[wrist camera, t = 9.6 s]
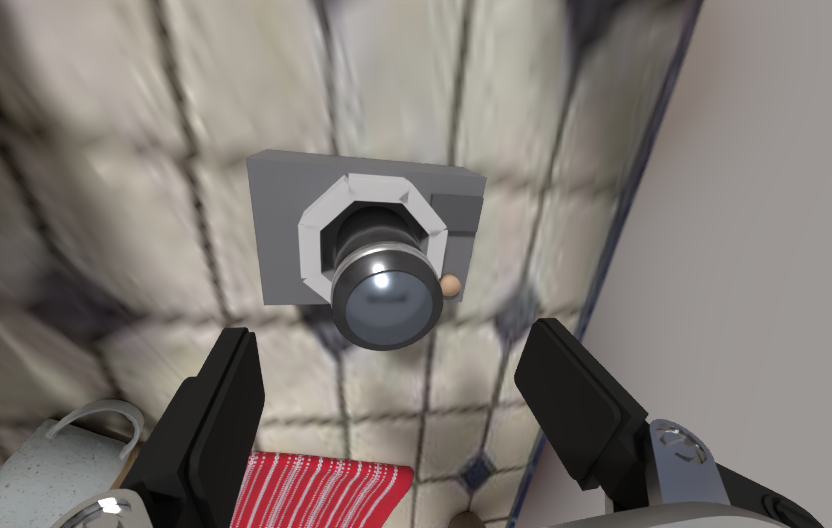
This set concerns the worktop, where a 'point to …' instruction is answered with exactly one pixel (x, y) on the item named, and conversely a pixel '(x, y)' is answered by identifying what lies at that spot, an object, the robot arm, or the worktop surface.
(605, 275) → the worktop surface
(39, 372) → the worktop surface
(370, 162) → the camera body
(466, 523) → the vase
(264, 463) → the dish towel
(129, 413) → the ceramic mug
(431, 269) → the lens
